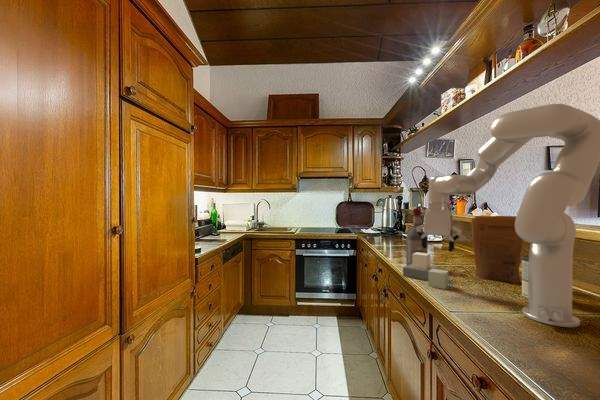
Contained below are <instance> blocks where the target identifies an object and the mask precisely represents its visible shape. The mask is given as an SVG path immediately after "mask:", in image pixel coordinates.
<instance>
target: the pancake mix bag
mask: <svg viewBox="0 0 600 400" xmlns="http://www.w3.org/2000/svg"><path fill="white" fill-rule="evenodd" d="M516 216H517V215H516ZM516 216H512V215H493V216H490V215H475V216H474V218H473V217H471V220H470V226H471V239H472V240H471V241H472V248H473V255H474V257H473V258H474V263H475V268H476V269H475V274H474V276H476V277H477V278H479V279H485V280H490V281H497V282H498V281H499V282H505V283H512V284H519V283H522V279H521V277H520V265H521V256H522V249H523V243H524V242H523V241H524V240H522V239H521V238H520V237H519V236H518V235H517V233H516V231H515V220H516Z"/></svg>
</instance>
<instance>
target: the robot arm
mask: <svg viewBox="0 0 600 400" xmlns="http://www.w3.org/2000/svg"><path fill="white" fill-rule="evenodd" d="M490 134H491V137H490V138H489V139H488V140H487V141H486V142H484V144H483V145H481V146H480V147H479V148H478V150H477V156H478V158H479V160H478V161H479V162H477V165H476V166H475V167H474V168H473V169H472V170H471V171H469V173H468V174H466V175H465V174H464V175H463V174H450V175H449V174H448V175H444V176H443V175H442V176H440V175H439V176H438V175H437V176H436V175H435V176H431V177H429V180H428V206H427V207H428V209H427V210H426V211H425V215H424V222H423V224H420V226H417V227H416V231H417V232H418V234H419V236H420V237H421V238H422V246H423V248H427V238H426V236H427V237H428V236H440V237H447V238H448V239H449V242H448V252H450V253H451V252H453V250H455V241H456V240H458V239H459V238H460V237H461V235H462V234H463V230H462V229H460V228H458V227H457V226H454V221H453V213H452V210H451V209H454V204H451V203H450V195H452V196H455V195H456V196H469V195H472V194H475V193H476V192H477V191H479V190H480V189H481V188H483V187H484V186H485V185H486V184H488V183H489V182H490V181H491V180H492V178H493V177H494V175H495V174H496V173H497V171H498V169H499V167H500V166H501V165H502V164H503V163H504V162H505V161H507V160H508V159H509V158H510V157H511V156H513V155H514V154H515V153H516V152H518V151H519V150H520V149H522V147H523V146H525V145H526V144H527V143H529V142H530V141H531V140H532V139H534V138H540V137H541V138H542V137H543V138H544V137H545V138H546V137H549V138H553V139H556V140H557V139H558V140H560V141H563V142H564V145H563V147H562V149H561V150H560V152H559V153H558V155H557V156H556V159H555V162H554V165H553V167H552V170H551V171H546V172H542V173H540V174H539V175H537V176H535V177H534V178H533V179H532V180H531V182H530V183H528V184H529V185H528V186H527V188H526V190H525V193H524V196H523V198H522V201H521V203H520V207H519V209H518V211H517V213H516V220H515V231H516V233H517V235H518V236H519V237H520V238H521V239H522V240H523V241H524V242H526V243H527V244H528V243H530V244H529V251H528V255H529V296H528V298H527V299H528V302H527V303H528V306H525V307H524V306H523V307H522V308H521V313H522V314H523V315H524V316H525V317H527V318H528V319H531V320H534V321H535V322H538V323H541V324H546V325H550V326H555V327H561V328H562V327H563V328H577V327H579V326H580V325H581V320H580V319H579V317H577V316H575V315H573V265H574V263H573V262H574V260H573V259H574V256H573V255H574V245H575V239H576V223H575V221H574V220H573V218H572V217H571V216H570V215H569V214H567V213H566V212H565V211H566V210H567V207H573V206H575V205H578V204H580V203H581V202H582V201H583V200H584V199H585V198H586V195H587V193H588V191H589V188H590V185H591V184H592V181H593V178H594V177H595V174H596V172H597V169H598V166H599V164H600V119H599V118H598V117H596V116H594V115H592V114H591V113H588V112H586V111H584V110H581V109H579V108H576V107H573V106H572V105H569V104H563V103H550V104H544V105H540V106H539V105H538V106H535V107H529V108H523V109H520V110H515V111H510V112H506V113H504V114H501V115H500V116H498V117H496V119H494V121H493V122H492V124H491V127H490ZM420 229H423V231H424V234H423V233H422V232H421V230H420ZM454 231H455V232H456V234H455V235H454V236H453V234H454Z"/></svg>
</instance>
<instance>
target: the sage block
mask: <svg viewBox="0 0 600 400" xmlns="http://www.w3.org/2000/svg"><path fill="white" fill-rule="evenodd" d="M427 282H428V283H427V285H428V287H432V288H437V289H441V288H442V289H441V290H445V289H446V288H448V287H449V270H446V269H445V270H444V269H440V268H439V269H431V270H430V271H428V281H427Z"/></svg>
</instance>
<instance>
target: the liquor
mask: <svg viewBox="0 0 600 400" xmlns="http://www.w3.org/2000/svg"><path fill="white" fill-rule="evenodd" d="M412 210H413V211H412V216H413V220H412V221H413V224H412V228H411V229H409V231H408V232H407V233H406V236H405V237H406V238H405V239H406V245H405V248H406V249H405V251H406V252H405V257H406V259H405V263H406V264H405V266H407V265H409V264H411V263H412V254H413V253H416V252H419V253H428V242H429V239H428V235H427V236H426V238H427V248H423V246H422V238H421V237H420V236H419V234H418V232H417V231H416V227H417V226H420V225H421V214H422V213H421V208H413V209H412ZM420 230H421V232H422V233H423V234H424V229H423V228H421V229H420Z"/></svg>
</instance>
